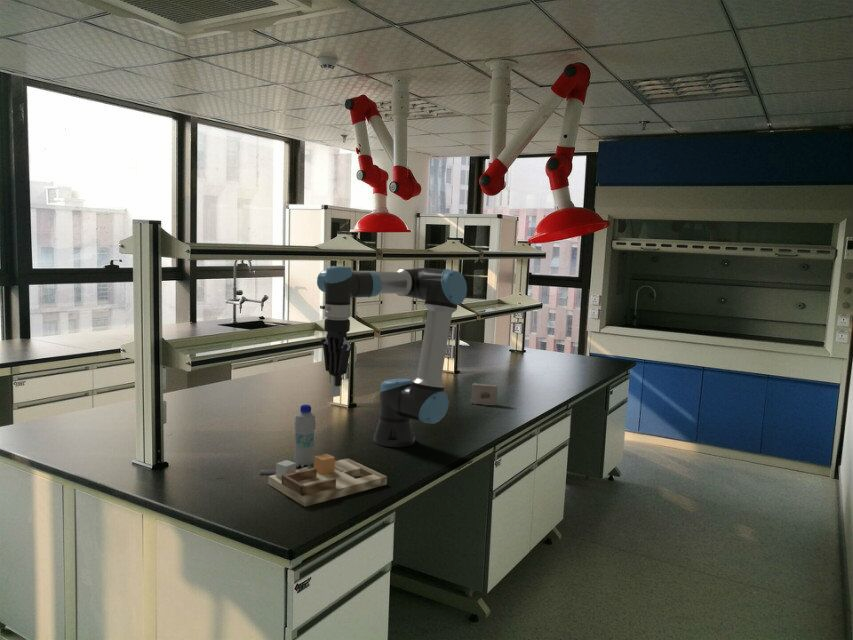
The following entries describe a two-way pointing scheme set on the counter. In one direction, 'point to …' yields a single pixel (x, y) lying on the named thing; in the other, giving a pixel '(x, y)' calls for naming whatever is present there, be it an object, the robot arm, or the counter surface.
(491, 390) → the pale printed box
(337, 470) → the board
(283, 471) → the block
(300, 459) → the bottle
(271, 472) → the crook tool
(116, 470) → the counter surface
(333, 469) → the cube
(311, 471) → the cubby
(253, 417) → the counter surface
